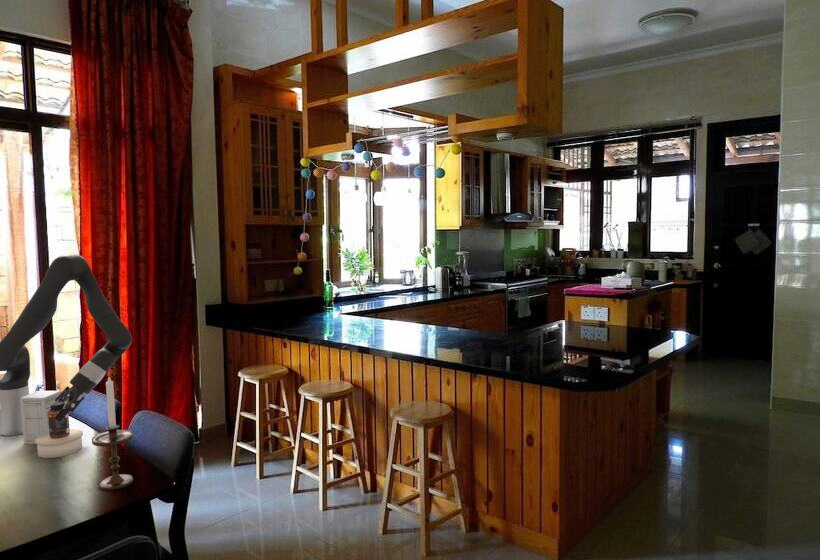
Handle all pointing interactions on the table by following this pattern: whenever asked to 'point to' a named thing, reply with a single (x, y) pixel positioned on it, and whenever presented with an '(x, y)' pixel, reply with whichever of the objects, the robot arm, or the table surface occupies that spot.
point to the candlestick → (113, 443)
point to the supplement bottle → (55, 426)
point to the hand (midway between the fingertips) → (53, 417)
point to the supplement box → (36, 414)
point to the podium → (59, 444)
